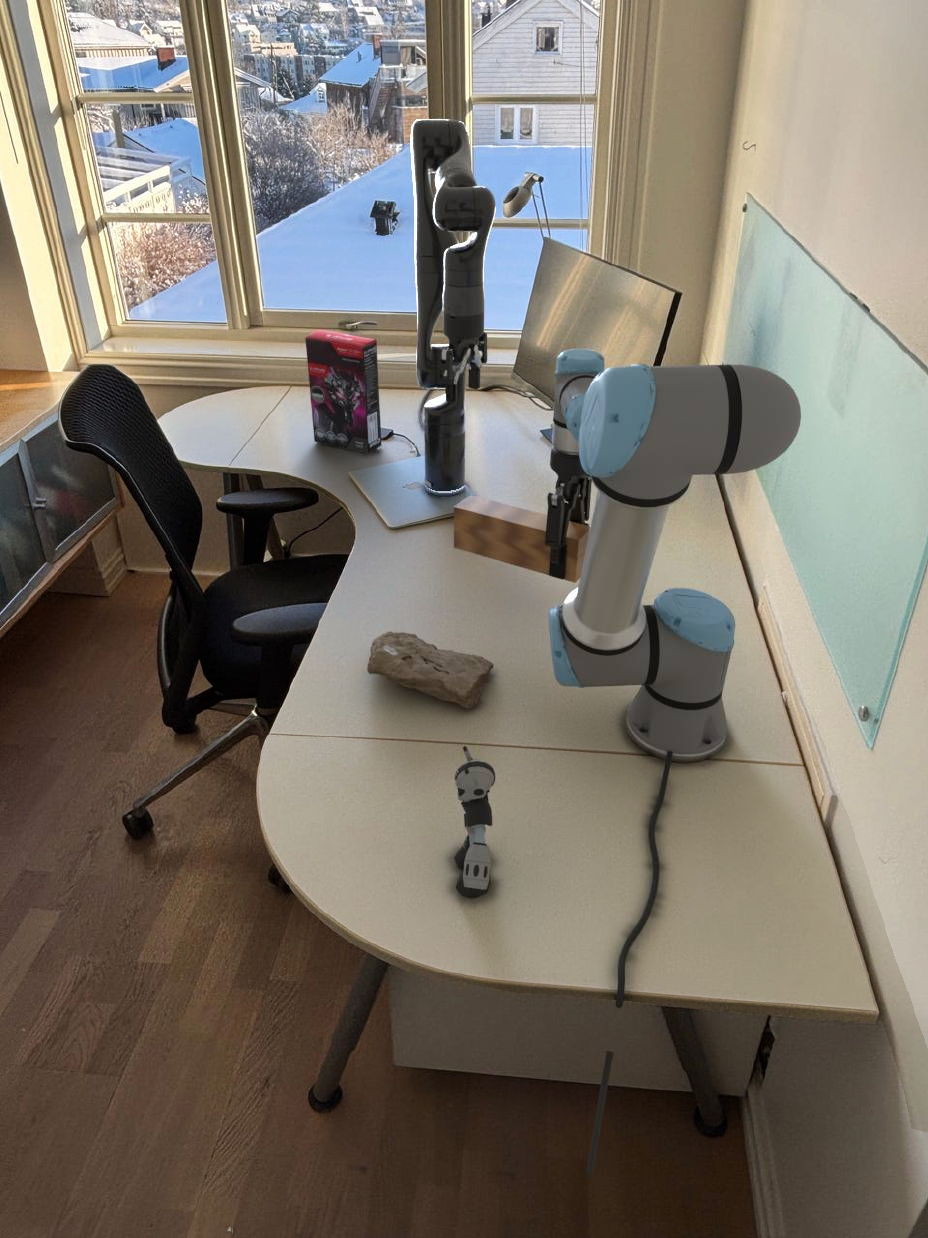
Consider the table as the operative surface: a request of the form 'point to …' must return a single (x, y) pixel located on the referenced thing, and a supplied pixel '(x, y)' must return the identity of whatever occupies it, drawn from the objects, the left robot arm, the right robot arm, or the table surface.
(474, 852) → the robot
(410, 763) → the table surface
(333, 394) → the graphics card box
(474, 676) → the stone
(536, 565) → the box
